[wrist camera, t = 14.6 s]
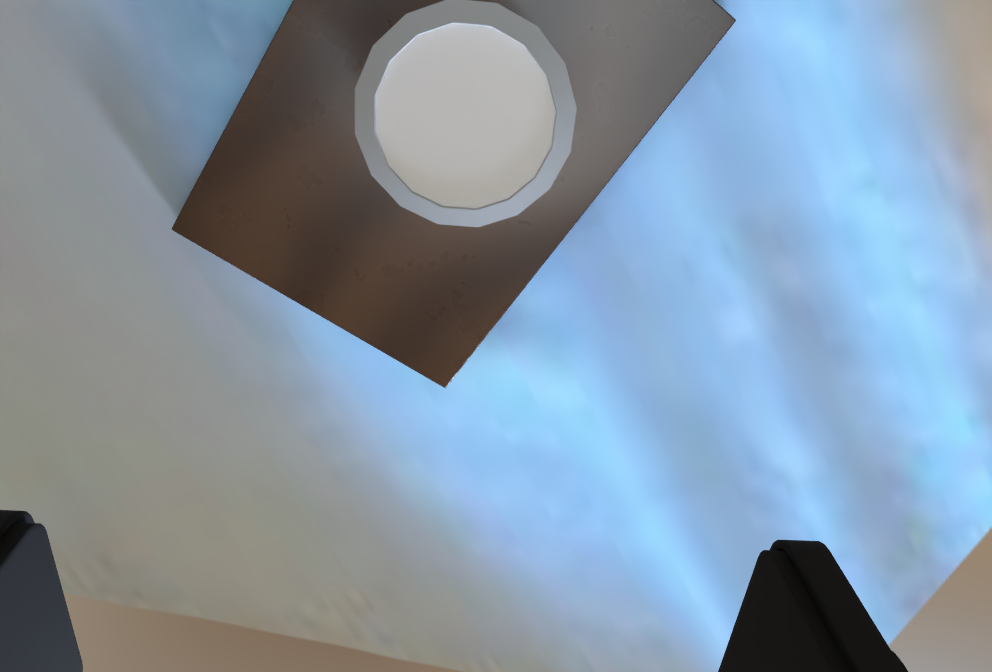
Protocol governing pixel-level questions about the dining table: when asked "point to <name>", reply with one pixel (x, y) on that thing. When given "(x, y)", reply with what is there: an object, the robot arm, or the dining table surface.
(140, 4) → the dining table surface
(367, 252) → the board
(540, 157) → the white cup
